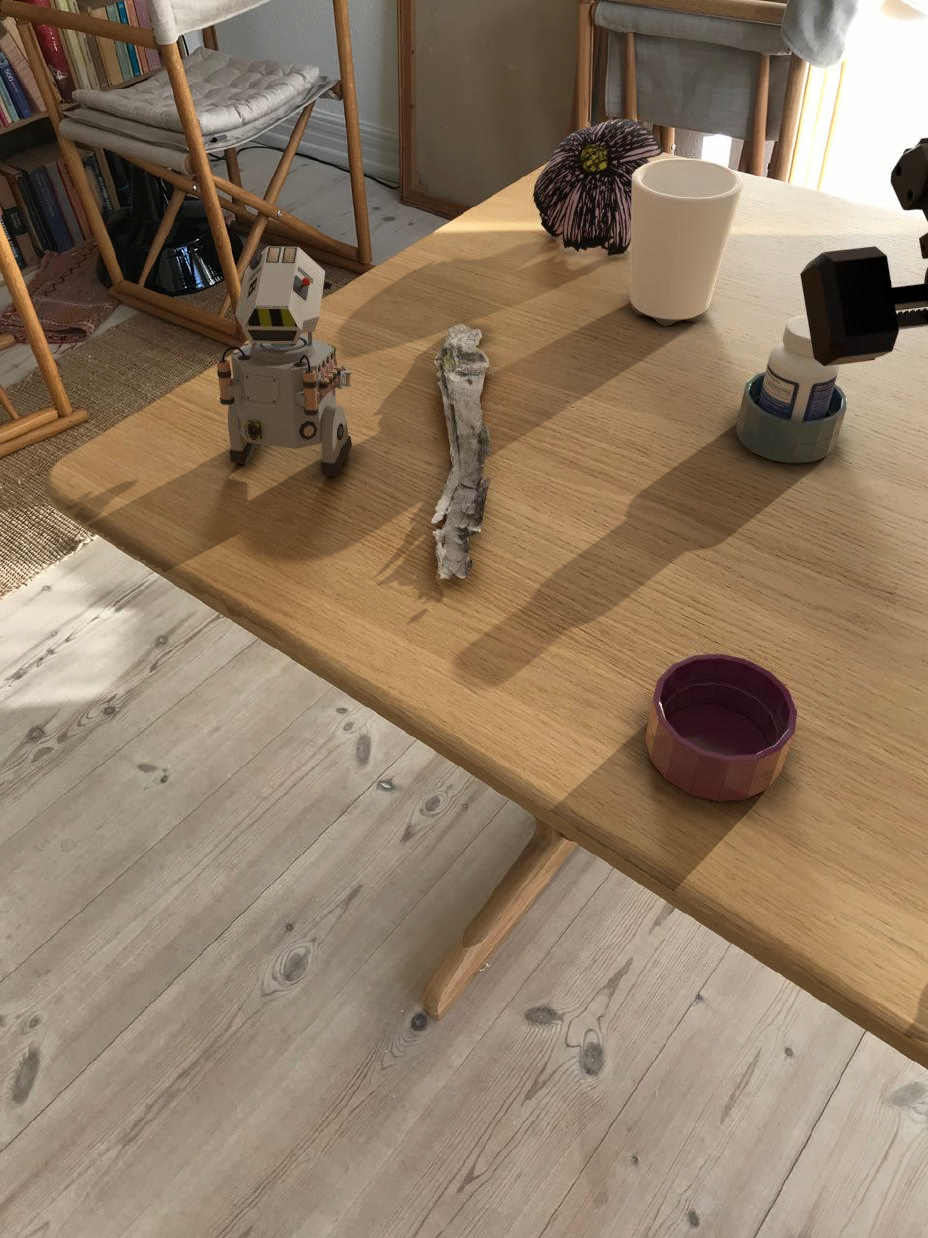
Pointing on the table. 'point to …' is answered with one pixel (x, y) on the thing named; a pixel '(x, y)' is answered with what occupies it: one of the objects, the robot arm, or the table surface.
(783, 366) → the pill bottle
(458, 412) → the driftwood
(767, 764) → the plum bowl
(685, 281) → the cup
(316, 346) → the figurine
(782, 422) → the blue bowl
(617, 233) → the decorative flower
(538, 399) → the table surface
